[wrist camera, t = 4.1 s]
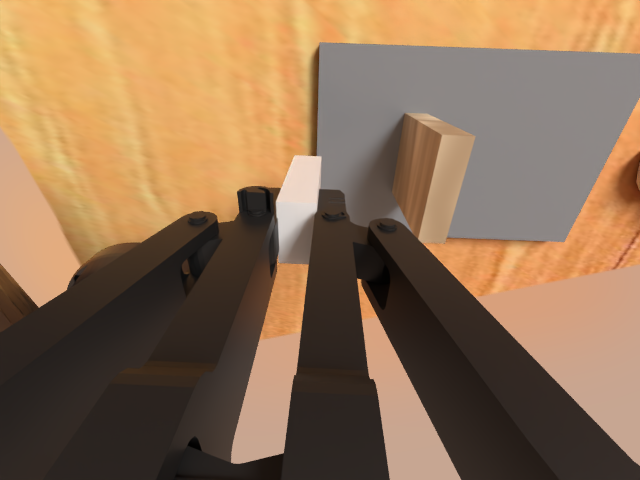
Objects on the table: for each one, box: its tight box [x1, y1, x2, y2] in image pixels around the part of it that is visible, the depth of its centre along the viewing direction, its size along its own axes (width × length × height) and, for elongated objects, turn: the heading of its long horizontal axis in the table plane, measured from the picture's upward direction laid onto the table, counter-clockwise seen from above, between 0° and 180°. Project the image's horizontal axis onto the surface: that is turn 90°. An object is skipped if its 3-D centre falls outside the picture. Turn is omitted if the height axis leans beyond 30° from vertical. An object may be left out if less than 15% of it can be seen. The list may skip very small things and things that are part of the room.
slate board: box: [317, 42, 640, 242], centre depth 23 cm, size 22×14×1 cm, turn 88°
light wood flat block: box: [392, 113, 476, 244], centre depth 19 cm, size 2×6×8 cm, turn 178°
